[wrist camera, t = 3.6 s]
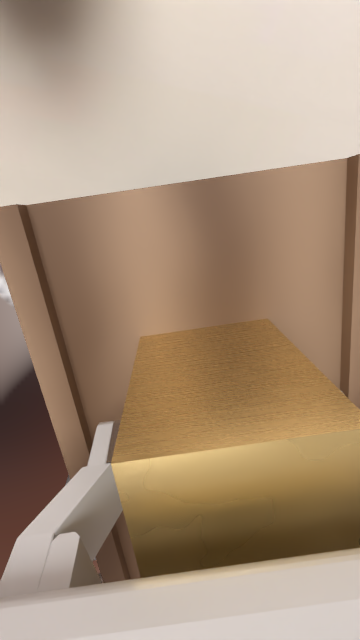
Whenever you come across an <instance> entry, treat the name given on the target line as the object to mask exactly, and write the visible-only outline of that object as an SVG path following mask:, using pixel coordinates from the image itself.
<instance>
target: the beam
mask: <svg viewBox="0 0 360 640" xmlns="http://www.w3.org/2000/svg"><path fill="white" fill-rule="evenodd" d="M0 263H1V266H2V270H3V273H4V276H5V279H6V282H7V285H8V288H9V291H10V294H11V297H12V300H13V304H14V307H15V310H16V313H17V316H18V319H19V322H20V325H21V328H22V331H23V334H24V338H25V341H26V344H27V347H28V350H29V353H30V356H31V359H32V362H33V365H34V369H35V372H36V375H37V378H38V381H39V384H40V387H41V390H42V393H43V396H44V399H45V402H46V405H47V409H48V412H49V415H50V418H51V421H52V424H53V427H54V430H55V433H56V436H57V440H58V443H59V446H60V449H61V452H62V455H63V458H64V461H65V464H66V467H67V471H68V474H69V477H70V480H71V479H72V478H73V477H74V476H75V475H76V474H77V472H78V471H79V470H80V469H81V468H82V467H86V466H87V465H88V461H89V457H90V453H91V449H92V445H93V440H94V436H95V432H96V428H97V426H98V424H99V423H100V422H110V421H115V420H121V418H122V413H123V409H124V405H125V400H126V396H127V392H128V387H129V383H130V379H131V374H132V370H133V366H134V362H135V357H136V353H137V349H138V344H139V340H140V337H142V336H149V335H156V334H163V333H170V332H177V331H184V330H191V329H198V328H205V327H211V326H218V325H225V324H232V323H239V322H246V321H253V320H260V319H267V318H268V319H269V320H270V321H271V322H272V323H273V324H274V325H275V326H276V327H277V328H278V329H279V330H280V331H281V332H282V333H283V334H284V335H285V336H286V337H287V338H288V339H289V340H290V341H291V342H292V343H293V344H294V345H295V346H296V347H297V348H298V349H299V350H300V351H301V352H302V353H303V354H304V355H305V356H306V357H307V358H308V359H309V360H310V361H311V362H312V363H313V364H314V365H315V366H316V367H317V368H318V369H319V370H320V371H321V372H322V373H323V374H324V375H325V376H326V377H327V378H328V379H329V380H330V381H331V382H332V383H333V384H334V385H335V386H336V387H337V388H338V389H339V390H341V391H342V392H343V393H344V395H345V396H346V397H347V398H348V399H349V400H350V401H351V402H352V403H353V404H354V405H355V406H356V407H357V408H358V409H359V410H360V154H358V155H355V156H352V157H349V158H345V159H338V160H332V161H325V162H318V163H311V164H304V165H298V166H291V167H284V168H277V169H270V170H264V171H257V172H250V173H243V174H236V175H229V176H223V177H216V178H209V179H202V180H195V181H189V182H182V183H175V184H168V185H161V186H155V187H148V188H141V189H134V190H127V191H120V192H114V193H107V194H100V195H93V196H86V197H80V198H73V199H66V200H59V201H52V202H46V203H39V204H32V205H10V206H3V207H0ZM96 560H97V563H98V567H99V570H100V573H101V576H102V579H103V582H104V583H109V582H116V581H124V580H131V579H138V578H141V577H140V573H139V569H138V565H137V562H136V558H135V554H134V550H133V546H132V543H131V539H130V535H129V531H128V527H127V524H126V520H125V516H124V512H123V511H122V512H121V514H120V516H119V517H118V519H117V521H116V522H115V524H114V526H113V528H112V529H111V531H110V533H109V534H108V536H107V538H106V540H105V541H104V543H103V545H102V546H101V548H100V550H99V552H98V553H97V555H96Z"/></svg>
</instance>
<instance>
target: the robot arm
mask: <svg viewBox="0 0 360 640" xmlns="http://www.w3.org/2000/svg"><path fill="white" fill-rule="evenodd" d="M340 391H341V390H340ZM341 392H342V391H341ZM342 393H343V392H342ZM343 394H344V393H343ZM120 422H121V420H115V421H110V422H100V423H99V424H98V426H97V428H96V432H95V436H94V440H93V445H92V449H91V453H90V457H89V461H88V465H87V466H86V467H82V468H81V469H80V470H79V471H78V472H77V474H76V475H75V476H74V477H73V478H72V479H71V480H70V481H69V482H68V483H67V484H66V486H65V487H64V488H63V489H62V490H61V491H60V492H59V493H58V494H57V496H55V498H54V499H53V500H52V501H51V502H50V503H49V504H48V505H47V506H46V507H45V508H44V510H43V511H42V512H41V513H40V514H39V515H38V516H37V517H36V519H34V521H33V522H32V523H31V524H30V525H29V526H28V527H27V528H26V529H25V531H24V532H23V533H22V534H21V535H20V536H19V537H18V538H17V541H16V543H15V546H14V548H13V551H12V553H11V556H10V558H9V561H8V564H7V566H6V569H5V571H4V574H3V576H2V579H1V582H0V640H360V548H354V549H346V550H339V551H332V552H325V553H317V554H310V555H303V556H296V557H288V558H281V559H274V560H267V561H260V562H253V563H246V564H238V565H231V566H224V567H217V568H210V569H203V570H195V571H188V572H181V573H174V574H167V575H160V576H152V577H145V578H138V579H131V580H124V581H116V582H109V583H102V581H101V579H100V577H99V575H98V573H97V571H96V569H95V567H94V565H93V563H92V562H93V560H94V558H95V557H96V555H97V553H98V552H99V550H100V548H101V546H102V545H103V543H104V541H105V540H106V538H107V536H108V534H109V533H110V531H111V529H112V528H113V526H114V524H115V522H116V521H117V519H118V517H119V516H120V514H121V512H122V511H123V508H122V505H121V501H120V497H119V493H118V490H117V486H116V482H115V478H114V474H113V471H112V467H111V461H112V456H113V452H114V448H115V443H116V439H117V435H118V431H119V426H120Z"/></svg>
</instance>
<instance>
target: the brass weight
mask: <svg viewBox="0 0 360 640" xmlns="http://www.w3.org/2000/svg"><path fill="white" fill-rule="evenodd" d="M111 467H112V471H113V474H114V478H115V482H116V486H117V490H118V493H119V497H120V501H121V505H122V508H123V512H124V516H125V520H126V524H127V527H128V531H129V535H130V539H131V543H132V546H133V550H134V554H135V558H136V562H137V565H138V569H139V573H140V577H141V578H145V577H152V576H160V575H167V574H174V573H181V572H188V571H195V570H203V569H210V568H217V567H224V566H231V565H238V564H246V563H253V562H260V561H267V560H274V559H281V558H288V557H296V556H303V555H310V554H317V553H325V552H332V551H339V550H346V549H354V548H360V410H359V409H358V408H357V407H356V406H355V405H354V404H353V403H352V402H351V401H350V400H349V399H348V398H347V397H346V396H345V395H344V394H343V393H342V392H341V391H340V390H339V389H338V388H337V387H336V386H335V385H334V384H333V383H332V382H331V381H330V380H329V379H328V378H327V377H326V376H325V375H324V374H323V373H322V372H321V371H320V370H319V369H318V368H317V367H316V366H315V365H314V364H313V363H312V362H311V361H310V360H309V359H308V358H307V357H306V356H305V355H304V354H303V353H302V352H301V351H300V350H299V349H298V348H297V347H296V346H295V345H294V344H293V343H292V342H291V341H290V340H289V339H288V338H287V337H286V336H285V335H284V334H283V333H282V332H281V331H280V330H279V329H278V328H277V327H276V326H275V325H274V324H273V323H272V322H271V321H270V320H269V319H268V318H267V319H260V320H253V321H246V322H239V323H232V324H225V325H218V326H211V327H205V328H198V329H191V330H184V331H177V332H170V333H163V334H156V335H149V336H142V337H140V340H139V344H138V349H137V353H136V357H135V362H134V366H133V370H132V374H131V379H130V383H129V387H128V392H127V396H126V400H125V405H124V409H123V413H122V418H121V422H120V426H119V431H118V435H117V439H116V443H115V448H114V452H113V456H112V461H111Z"/></svg>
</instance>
